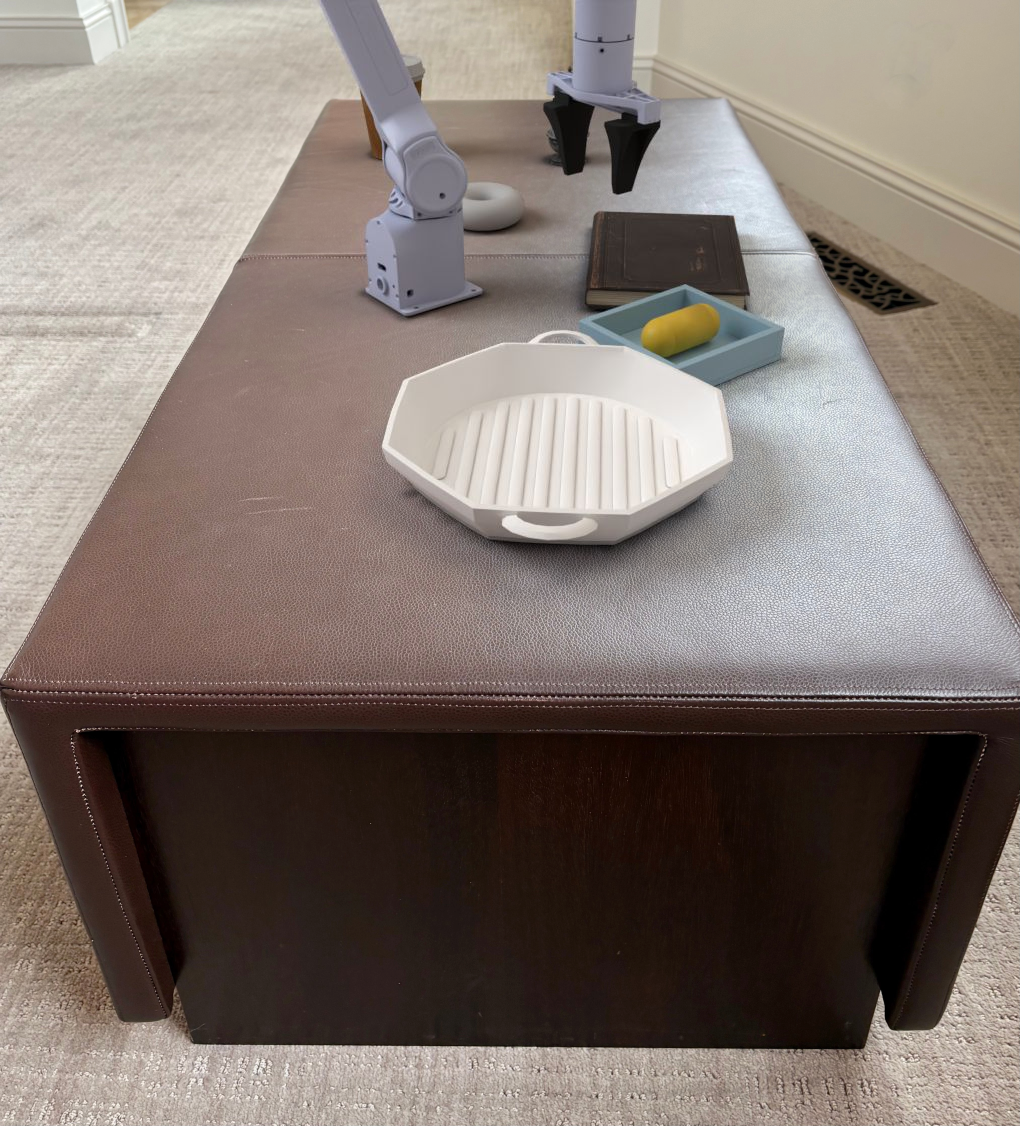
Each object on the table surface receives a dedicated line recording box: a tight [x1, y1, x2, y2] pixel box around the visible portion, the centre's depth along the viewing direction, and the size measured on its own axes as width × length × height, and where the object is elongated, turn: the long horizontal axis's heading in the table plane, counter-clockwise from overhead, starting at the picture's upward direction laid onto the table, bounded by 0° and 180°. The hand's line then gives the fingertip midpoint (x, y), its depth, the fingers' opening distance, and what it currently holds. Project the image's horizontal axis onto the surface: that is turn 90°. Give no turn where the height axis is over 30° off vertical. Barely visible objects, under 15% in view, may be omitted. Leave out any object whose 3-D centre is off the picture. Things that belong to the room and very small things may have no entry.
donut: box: [462, 181, 526, 232], centre depth 126 cm, size 10×4×10 cm
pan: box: [381, 329, 734, 546], centre depth 82 cm, size 31×26×4 cm
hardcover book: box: [583, 210, 751, 312], centre depth 114 cm, size 16×23×2 cm
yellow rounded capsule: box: [641, 303, 720, 358], centre depth 97 cm, size 9×4×4 cm, turn 127°
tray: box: [577, 284, 786, 387], centre depth 97 cm, size 14×13×3 cm
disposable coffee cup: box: [358, 53, 426, 160], centre depth 145 cm, size 10×10×12 cm
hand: (597, 182), depth 109 cm, fingers open, 7 cm apart
